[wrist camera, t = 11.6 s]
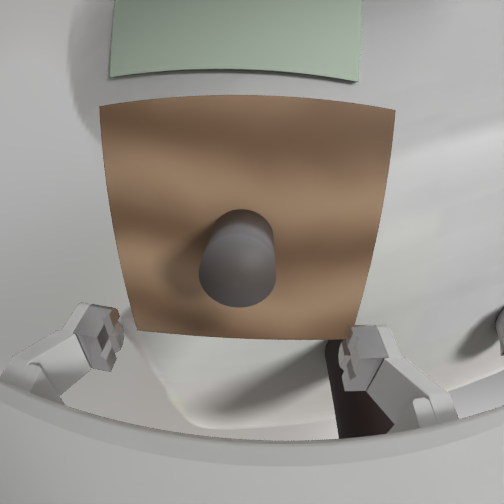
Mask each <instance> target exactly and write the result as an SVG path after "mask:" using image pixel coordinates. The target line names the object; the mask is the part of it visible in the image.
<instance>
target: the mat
mask: <svg viewBox="0 0 504 504" xmlns="http://www.w3.org/2000/svg"><path fill="white" fill-rule="evenodd" d="M361 35H362V0H115V5H114V14H113V25H112V39H111V58H110V77H116V76H123V75H131V74H140V73H149V72H161V71H175V70H196V69H243V70H265V71H279V72H291V73H300V74H309V75H317V76H324V77H331V78H338V79H344V80H350V81H355V82H359V70H360V55H361Z"/></svg>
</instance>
